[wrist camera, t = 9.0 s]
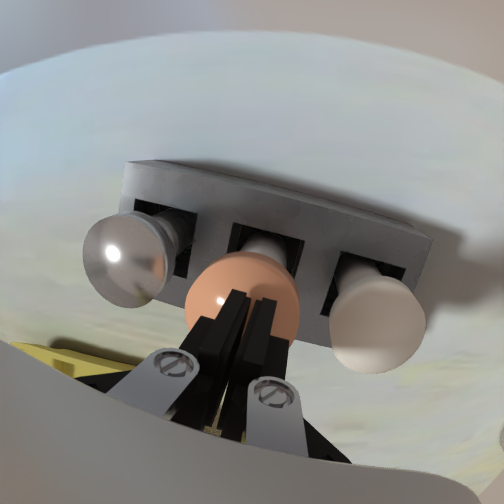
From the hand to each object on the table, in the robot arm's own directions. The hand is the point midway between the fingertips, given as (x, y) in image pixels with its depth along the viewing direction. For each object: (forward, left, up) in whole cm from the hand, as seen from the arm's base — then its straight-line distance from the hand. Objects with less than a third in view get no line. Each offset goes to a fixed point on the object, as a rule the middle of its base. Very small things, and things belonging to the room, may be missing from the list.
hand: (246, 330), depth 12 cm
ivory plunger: (-6, 0, -11) cm, 12 cm away
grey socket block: (0, 0, -11) cm, 11 cm away
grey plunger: (+6, 0, -11) cm, 12 cm away
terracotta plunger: (0, 0, -9) cm, 9 cm away
